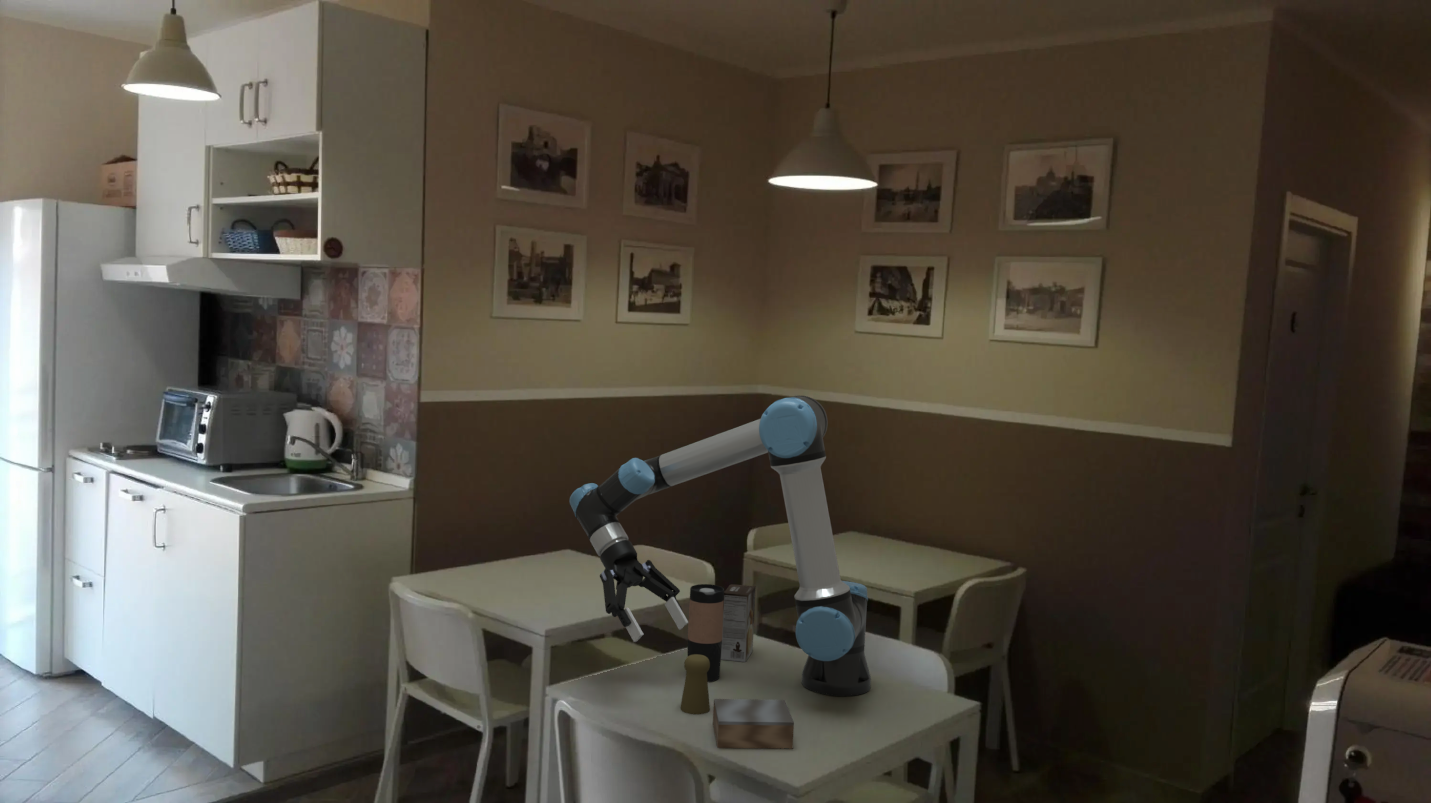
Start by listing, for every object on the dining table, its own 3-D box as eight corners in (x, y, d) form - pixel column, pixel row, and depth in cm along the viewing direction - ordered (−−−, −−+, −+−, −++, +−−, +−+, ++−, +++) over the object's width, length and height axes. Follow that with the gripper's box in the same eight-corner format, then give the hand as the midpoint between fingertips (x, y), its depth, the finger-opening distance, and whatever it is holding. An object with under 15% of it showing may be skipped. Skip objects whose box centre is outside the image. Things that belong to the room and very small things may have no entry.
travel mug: (699, 668, 245) (703, 582, 244) (727, 676, 241) (731, 588, 239) (679, 677, 239) (682, 587, 238) (707, 684, 235) (710, 594, 233)
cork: (681, 702, 223) (683, 650, 222) (710, 704, 223) (712, 652, 222) (679, 713, 217) (681, 659, 216) (709, 714, 217) (711, 661, 216)
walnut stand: (783, 724, 213) (784, 699, 213) (792, 748, 201) (793, 722, 201) (712, 723, 212) (713, 698, 212) (717, 747, 200) (718, 721, 200)
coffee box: (727, 648, 262) (730, 583, 261) (753, 651, 261) (756, 585, 259) (719, 659, 253) (722, 592, 252) (746, 662, 252) (749, 594, 250)
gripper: (645, 551, 245) (691, 630, 237) (561, 566, 226) (609, 653, 218) (663, 531, 241) (711, 611, 233) (580, 545, 222) (628, 633, 214)
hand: (662, 632), depth 225 cm, fingers open, 13 cm apart
